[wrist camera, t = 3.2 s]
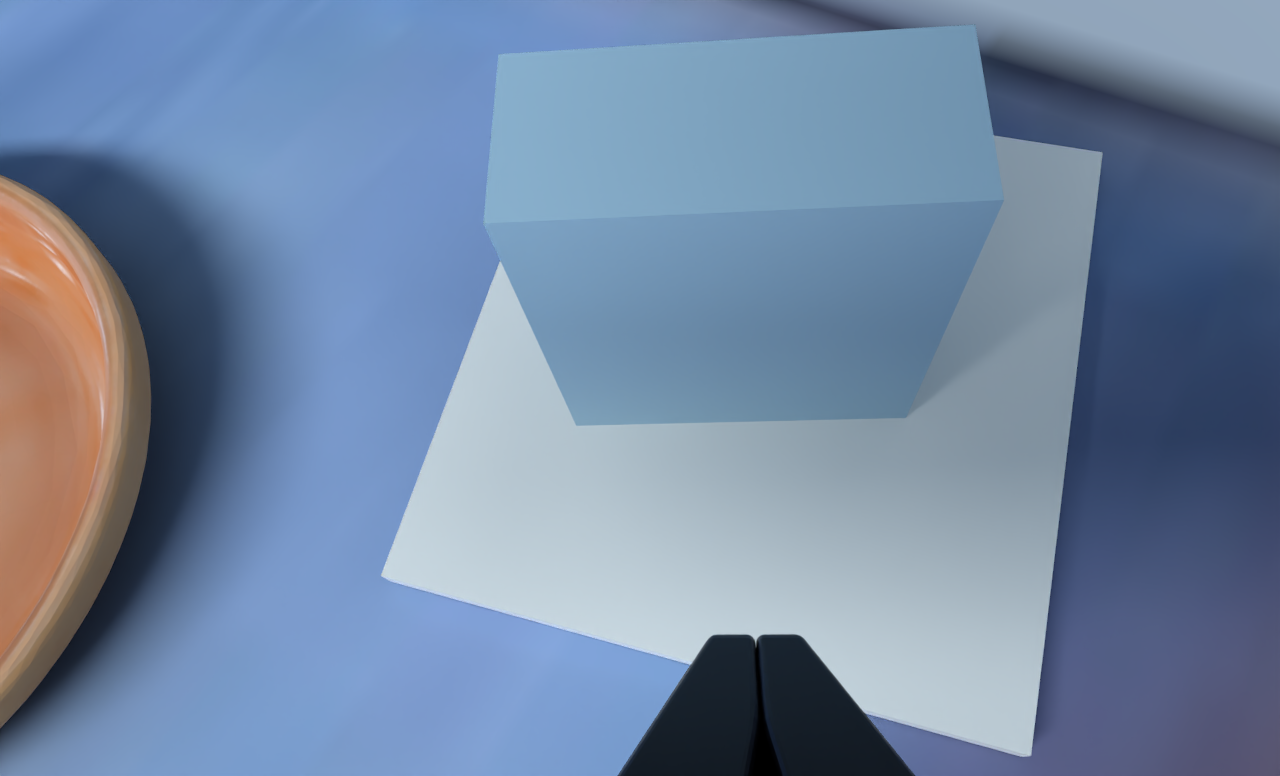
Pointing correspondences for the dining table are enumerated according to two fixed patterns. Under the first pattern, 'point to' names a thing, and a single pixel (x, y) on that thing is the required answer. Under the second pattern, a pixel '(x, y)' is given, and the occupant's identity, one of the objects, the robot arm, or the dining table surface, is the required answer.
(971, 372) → the mat
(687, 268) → the box
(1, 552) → the saucer
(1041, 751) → the dining table surface
